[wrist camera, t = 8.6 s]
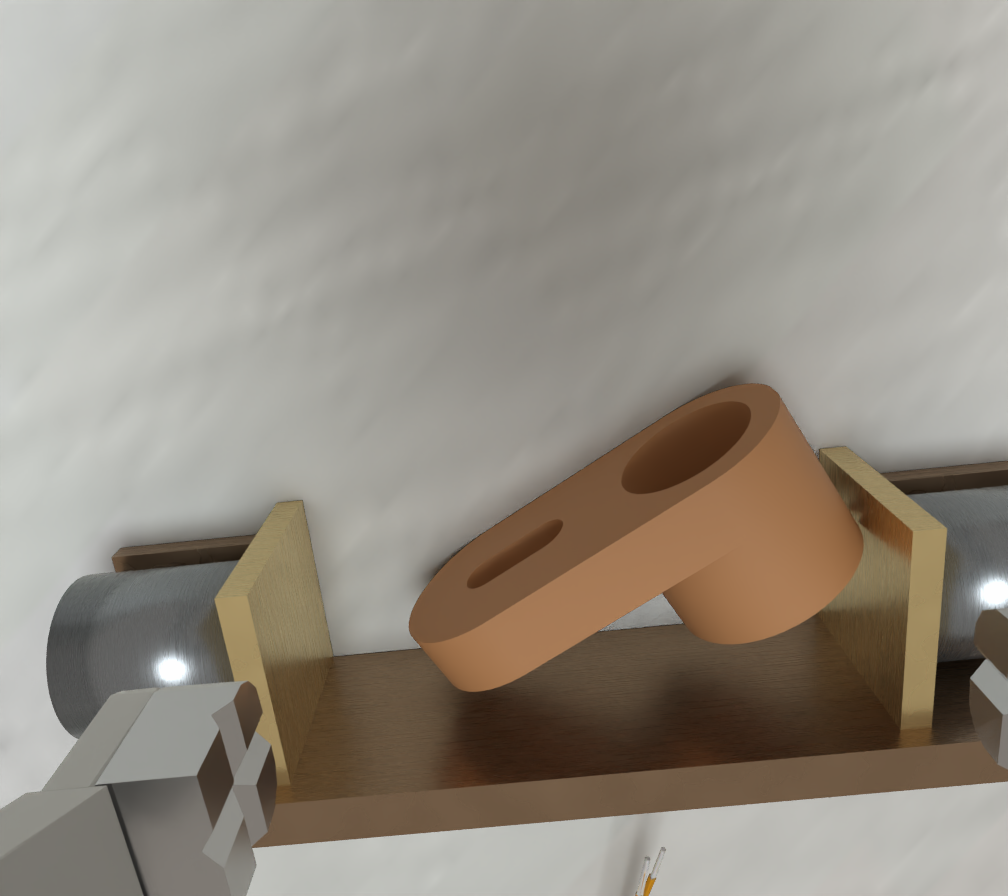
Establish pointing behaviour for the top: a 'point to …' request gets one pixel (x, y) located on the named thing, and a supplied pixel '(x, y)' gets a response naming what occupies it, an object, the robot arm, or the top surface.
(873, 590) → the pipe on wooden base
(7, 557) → the top surface
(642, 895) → the electrical component
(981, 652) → the robot arm
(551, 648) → the tan piece
